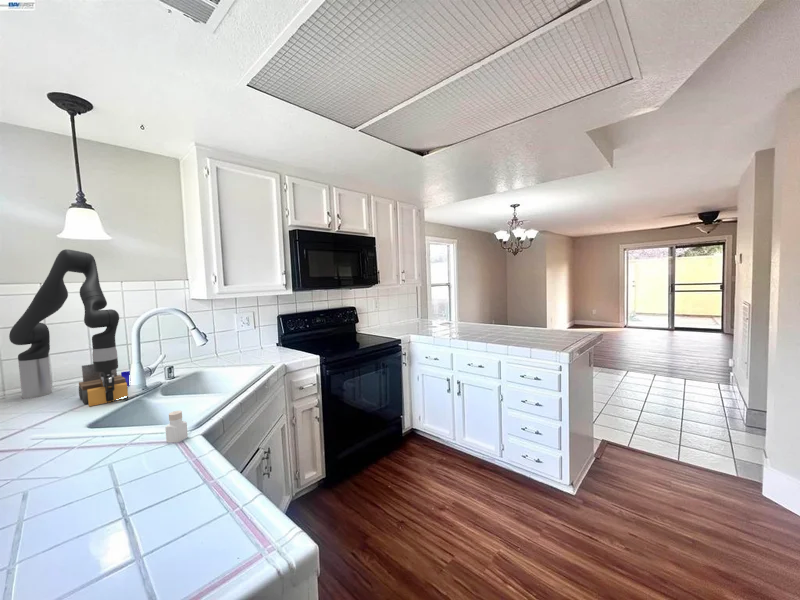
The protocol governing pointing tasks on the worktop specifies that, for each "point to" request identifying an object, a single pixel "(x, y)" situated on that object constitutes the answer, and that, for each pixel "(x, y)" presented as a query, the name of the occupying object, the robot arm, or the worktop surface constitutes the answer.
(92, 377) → the bench with backrest
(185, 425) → the pepper shaker
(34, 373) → the robot arm
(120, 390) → the chock
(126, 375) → the cable clip
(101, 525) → the worktop surface
